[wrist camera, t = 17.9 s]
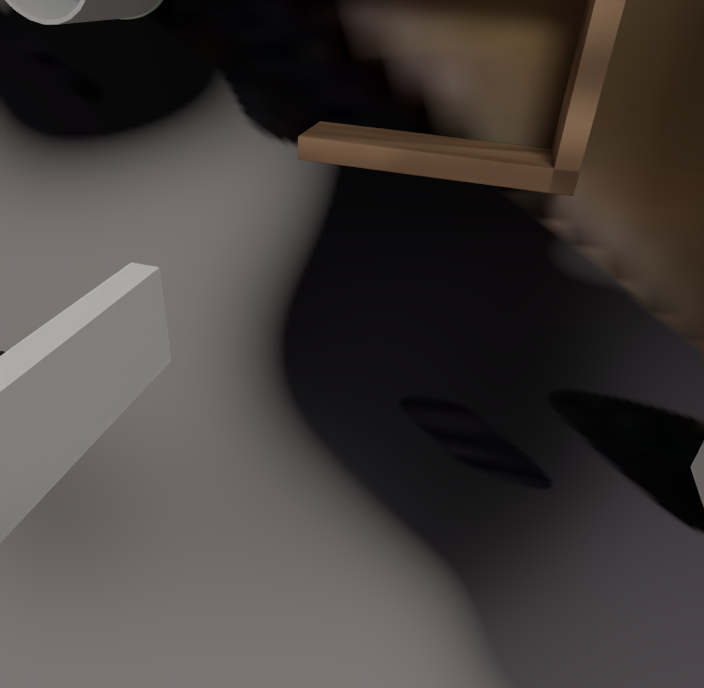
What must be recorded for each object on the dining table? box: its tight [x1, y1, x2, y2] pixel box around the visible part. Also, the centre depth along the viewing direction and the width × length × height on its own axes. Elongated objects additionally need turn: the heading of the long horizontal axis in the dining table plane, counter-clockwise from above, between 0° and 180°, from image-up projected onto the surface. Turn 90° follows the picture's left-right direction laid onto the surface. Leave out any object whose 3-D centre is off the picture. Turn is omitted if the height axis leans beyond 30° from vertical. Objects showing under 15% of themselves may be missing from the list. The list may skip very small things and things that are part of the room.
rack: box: [298, 0, 626, 196], centre depth 36 cm, size 15×18×5 cm
